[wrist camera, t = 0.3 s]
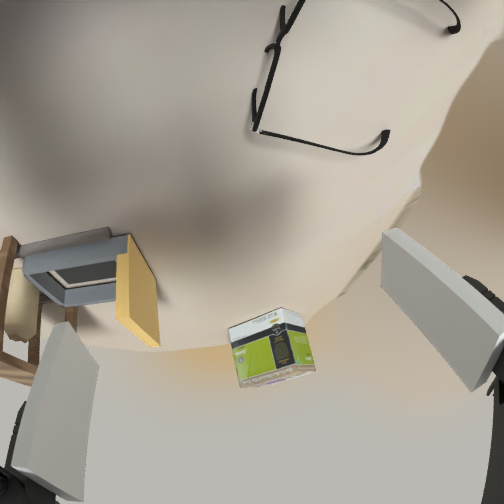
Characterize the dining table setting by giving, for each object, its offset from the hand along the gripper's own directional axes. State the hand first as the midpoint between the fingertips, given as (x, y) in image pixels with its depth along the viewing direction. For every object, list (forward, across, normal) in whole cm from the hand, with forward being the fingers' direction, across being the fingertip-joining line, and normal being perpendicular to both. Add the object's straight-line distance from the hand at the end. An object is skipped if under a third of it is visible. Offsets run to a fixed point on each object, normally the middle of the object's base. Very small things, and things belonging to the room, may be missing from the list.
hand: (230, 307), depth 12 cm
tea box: (+45, +5, -42) cm, 62 cm away
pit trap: (+28, -19, -9) cm, 35 cm away
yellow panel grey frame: (+27, -18, -9) cm, 34 cm away
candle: (+28, -30, -7) cm, 42 cm away
